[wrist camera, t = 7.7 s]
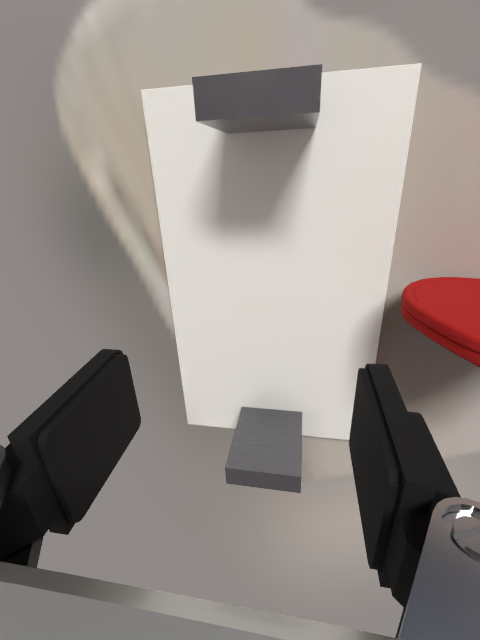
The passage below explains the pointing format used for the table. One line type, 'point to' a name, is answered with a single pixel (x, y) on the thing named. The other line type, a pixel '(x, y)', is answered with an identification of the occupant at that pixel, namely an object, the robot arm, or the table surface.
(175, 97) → the board
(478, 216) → the table surface
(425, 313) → the red curved piece
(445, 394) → the table surface
